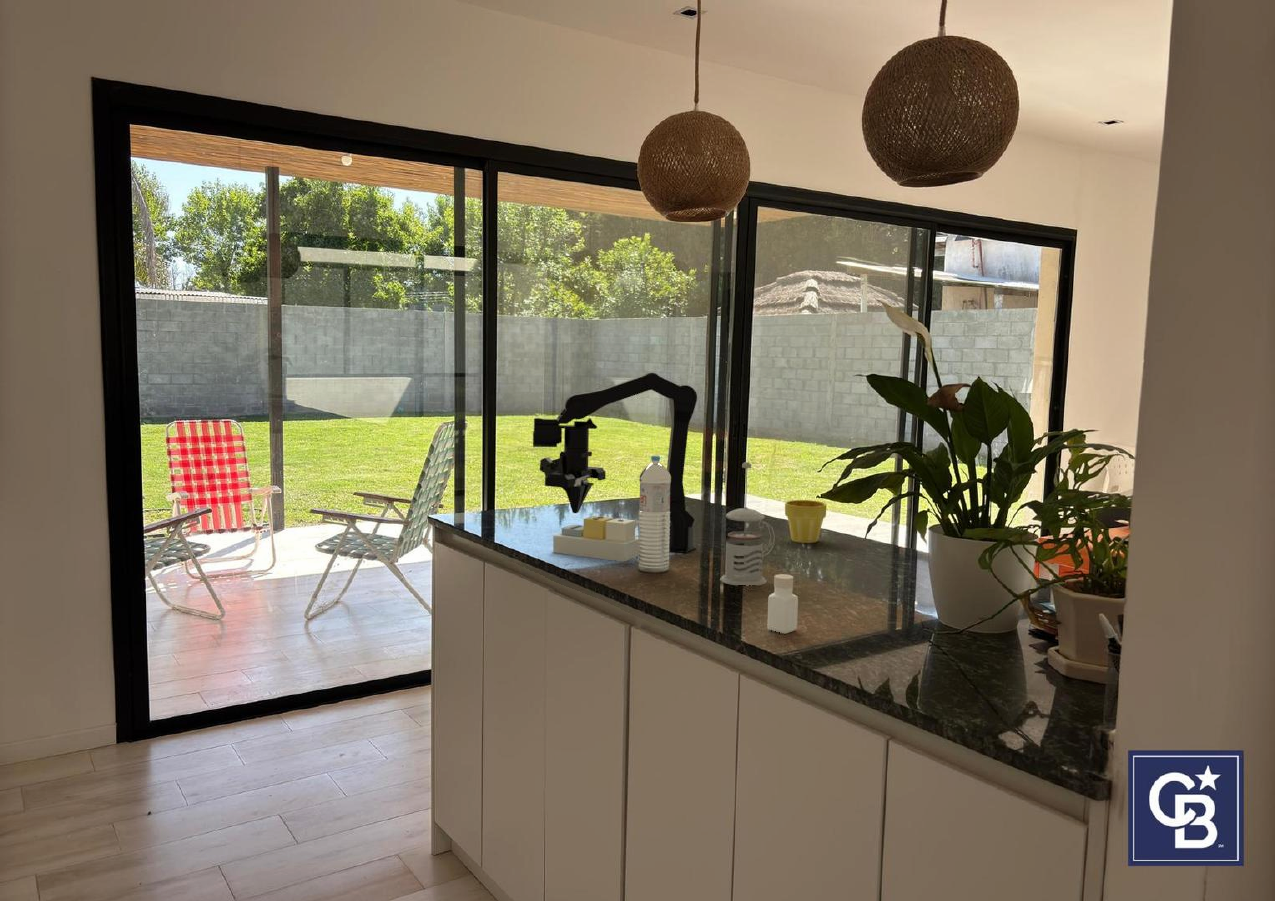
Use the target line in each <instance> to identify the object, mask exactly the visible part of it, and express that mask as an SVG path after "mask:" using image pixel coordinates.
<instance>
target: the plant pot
mask: <svg viewBox="0 0 1275 901" xmlns="http://www.w3.org/2000/svg"><path fill="white" fill-rule="evenodd" d="M784 515H785V517H787V520H788V521H787V522H788V527H789V532H790V538H791V541H792V542H795V543H798V544H799V543H801V544H812V543H813V544H814V543H817V542H818V540H819V537H820V533H821V528H822V525H823V521H824V519H825V518H826V517H827V504H826V502H822V501H820V500H811V499H796V500H795V499H794V500H793V499H792V500H788V501H785V503H784Z"/></svg>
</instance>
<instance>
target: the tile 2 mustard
mask: <svg viewBox="0 0 1275 901" xmlns="http://www.w3.org/2000/svg"><path fill="white" fill-rule="evenodd" d="M613 519H614V517H608V516H597V515H593V516H589V517H586V518H583V526H584V529H583V538H591V539H599V540H604V539H606V522H607V521H610V520H613Z"/></svg>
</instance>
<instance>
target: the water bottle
mask: <svg viewBox="0 0 1275 901" xmlns="http://www.w3.org/2000/svg"><path fill="white" fill-rule="evenodd" d="M650 460H651V462H650V463H649V464H647V465H646V466H645V467H644V468H643V469H642V471H641V472H640V474H639V479H638V480H639V505H638V506H639V510H638V533H637V534H638V536H637V537H638V539H639V540H638V543H639V544H638V556H637V567H638V570H639V571H642V572H644V573H649V574H650V573H652V574H653V573H654V574H655V573H656V574H657V573H664V572H666V571H668V570H669V567H670V551H669V543H670V541H669V539H670V536H669V535H670V532H669V531H670V528H669V527H670V482H671V475H670V473H669V472H668V470H667V467H665V466H664V465H663V464H661V463H660V460H661V456H660V455H651V458H650Z"/></svg>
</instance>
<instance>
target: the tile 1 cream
mask: <svg viewBox="0 0 1275 901" xmlns="http://www.w3.org/2000/svg"><path fill="white" fill-rule="evenodd" d="M635 537H636V520H635V519H626V518H625V519H624V518H613V520H610V521H607V522H606V540H608V541H616V542H624V543H626V542H629V541H632V540H634V539H635Z"/></svg>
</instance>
